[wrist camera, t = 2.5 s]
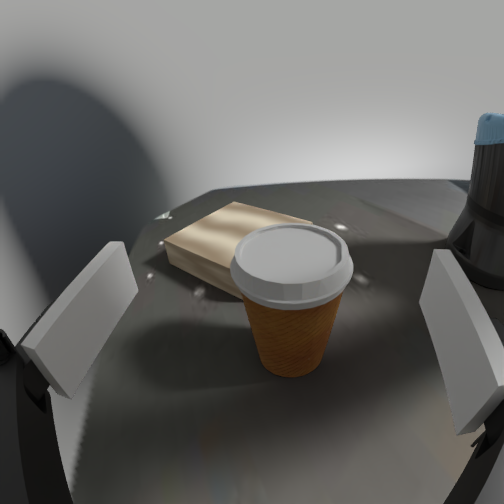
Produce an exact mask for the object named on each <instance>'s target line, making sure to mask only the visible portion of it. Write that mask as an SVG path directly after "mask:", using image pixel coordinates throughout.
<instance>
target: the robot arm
mask: <svg viewBox="0 0 504 504" xmlns="http://www.w3.org/2000/svg"><path fill="white" fill-rule="evenodd" d="M474 144H475V152H474V159H473V167H472V174H471V180H470V186H469V191H468V197H467V202H466V205H465V208H464V209H463V211H462V213H461V215H460V216H459V218H458V220H457V221H456V223H455V225H454V226H453V228H452V230H451V231H450V233H449V236H448V239H447V243H446V247H445V249H434V251H433V255H432V259H431V263H430V266H429V270H428V274H427V277H426V281H425V284H424V287H423V291H422V294H421V297H420V300H419V304H420V307H421V309H422V312H423V315H424V318H425V321H426V324H427V327H428V330H429V333H430V336H431V339H432V342H433V345H434V348H435V352H436V355H437V358H438V362H439V365H440V369H441V372H442V376H443V379H444V383H445V387H446V391H447V395H448V399H449V403H450V407H451V412H452V416H453V421H454V426H455V431H456V435H461V434H466V433H471V432H475V431H476V430H477V429H478V428H479V427H480V426H481V425H482V424H483V423H484V425H485V429H486V430H485V431H484V432H483V433H482V434H481V435H480V436H479V437H478V438H477V439H476V440H475V441H474V442H473V444H472V445H471V447H474V446H475V445H476V444H477V443H478V444H477V446H476V448H475V450H474V452H473V454H472V456H471V458H470V460H469V461H468V463H467V465H466V467H465V469H464V471H463V472H462V474H461V476H460V478H459V479H458V481H457V483H456V484H455V486H454V488H453V489H452V491H451V492H450V494H449V496H448V497H447V499H446V500H445V502H444V503H443V504H504V325H503V324H502V323H501V322H500V321H499V320H498V319H497V318H492V319H490V318H489V316H488V314H487V312H486V310H485V308H484V307H483V305H482V303H481V301H480V299H479V297H478V296H477V294H476V292H475V290H474V289H473V287H472V285H471V283H470V282H469V280H468V279H470V280H472V281H474V282H476V283H478V284H480V285H483V286H485V287H489V288H492V289H498V290H504V114H498V113H486V114H483V115H482V116H481V117H480V118H479V121H478V127H477V134H476V140H475V141H474ZM137 292H138V288H137V285H136V282H135V279H134V276H133V272H132V269H131V266H130V263H129V260H128V256H127V253H126V250H125V247H124V243H123V242H109V243H108V244H107V245H106V246H105V247H104V248H103V249H102V250H101V251H100V252H99V253H98V254H97V255H96V256H95V258H94V259H93V260H92V261H91V262H90V263H89V264H88V265H87V266H86V267H85V268H84V270H82V271H81V273H80V274H79V275H78V276H77V277H76V278H75V279H74V280H73V281H72V283H71V284H70V285H69V286H68V287H67V288H66V289H65V291H64V292H63V293H62V294H61V295H60V296H59V298H57V299H56V300H55V301H53V302H52V303H51V304H50V305H48V306H47V307H46V309H45V310H44V311H43V312H42V313H41V316H39V317H38V318H37V319H36V322H34V323H33V324H32V326H31V327H30V328H29V329H28V331H27V332H26V333H25V334H24V336H23V337H22V338H21V340H20V341H19V342H18V344H17V345H16V346H15V347H14V345H13V344H12V342H11V341H10V339H9V338H8V336H7V334H6V333H5V332H4V331H3V330H2V329H0V504H73V501H72V498H71V495H70V491H69V488H68V484H67V481H66V477H65V473H64V469H63V465H62V461H61V456H60V452H59V447H58V442H57V436H56V431H55V425H54V419H53V412H52V405H51V397H50V394H49V392H48V391H47V389H48V387H49V385H51V387H52V388H53V389H54V390H55V391H56V393H57V394H59V395H61V396H64V397H66V398H69V399H72V397H73V396H74V394H75V392H76V390H77V389H78V387H79V385H80V383H81V382H82V380H83V378H84V377H85V375H86V373H87V372H88V370H89V368H90V366H91V365H92V363H93V361H94V360H95V358H96V356H97V355H98V353H99V352H100V350H101V348H102V347H103V345H104V343H105V342H106V340H107V339H108V337H109V335H110V334H111V332H112V331H113V329H114V328H115V326H116V324H117V323H118V321H119V320H120V318H121V317H122V315H123V314H124V312H125V310H126V309H127V307H128V306H129V304H130V303H131V301H132V300H133V298H134V297H135V295H136V294H137Z"/></svg>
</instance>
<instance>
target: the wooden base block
mask: <svg viewBox="0 0 504 504" xmlns="http://www.w3.org/2000/svg"><path fill="white" fill-rule="evenodd" d="M281 223H304V224H311V225H312V222H310V221H306V220H302V219H299V218H295V217H291V216H288V215H284V214H280V213H276V212H272V211H269V210H265V209H261V208H257V207H253V206H249V205H245V204H241V203H237V202H233V203H231V204H229V205H227V206H225V207H223V208H221V209H219V210H217V211H216V212H214V213H212V214H210V215H208V216H206V217H204V218H202V219H201V220H199V221H197V222H195V223H193V224H191V225H190V226H188V227H186V228H184V229H182V230H180V231H179V232H177V233H175V234H173V235H171V236H170V237H168V238H166V239H164V243H165V247H166V251H167V255H168V259H169V263H170V264H172V265H174V266H176V267H178V268H180V269H182V270H184V271H186V272H188V273H189V274H191V275H193V276H195V277H197V278H199V279H201V280H203V281H205V282H207V283H209V284H211V285H213V286H215V287H217V288H219V289H221V290H224V291H226V292H228V293H230V294H232V295H234V296H236V297H238V298H240V299H242V300H243V298H242V295H241V291H240V290H239V288H238V287H237V286H236V284H235V282H234V281H233V279H232V277H231V273H230V264H231V261H232V259H233V257H234V254H235V248H236V246H237V244H238V243H239V242H240V241H241V240H242V239H243V238H244V237H245V236H246V235H248V234H249V233H251V232H252V231H255V230H257V229H259V228H262V227H266V226H269V225H274V224H281Z"/></svg>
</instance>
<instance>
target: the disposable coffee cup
mask: <svg viewBox="0 0 504 504" xmlns="http://www.w3.org/2000/svg"><path fill="white" fill-rule="evenodd" d="M230 273H231V277H232V279H233V281H234V282H235V284H236V286H237V287H238V288H239V290H240V291H241V295H242V298H243V301H244V305H245V307H246V312H247V315H248V318H249V319H248V320H249V322H250V326H251V330H252V332H253V336H254V339H255V343H256V345H257V349H258V353H259V356H260V360H261V362H262V364H263V365H264V367H265V368H266V369H267V370H269V371H270V372H272V373H274V374H276V375H279V376H282V377H299V376H303V375H306V374H308V373H310V372H311V371H313V370H314V369H315V368H317V366H318V365H319V364H320V362H321V360H322V357H323V354H324V351H325V348H326V345H327V342H328V339H329V336H330V333H331V330H332V326H333V323H334V320H335V317H336V313H337V310H338V307H339V303H340V300H341V296H342V293H343V290H344V289H345V287H346V285H347V284H348V283H349V281H350V279H351V277H352V274H353V262H352V259H351V257H350V255H349V252H348V247H347V245H346V243H345V242H344V240H343V239H342V238H341V237H339V236H338V235H337V234H336V233H334V232H332V231H330V230H328V229H326V228H322V227H319V226H316V225H311V224H304V223H281V224H274V225H269V226H266V227H262V228H259V229H257V230H255V231H252V232H251V233H249V234H248V235H246V236H245V237H244V238H243V239H242V240H241V241H240V242H239V243H238V244H237V246H236V248H235V254H234V257H233V259H232V261H231V264H230Z"/></svg>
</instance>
